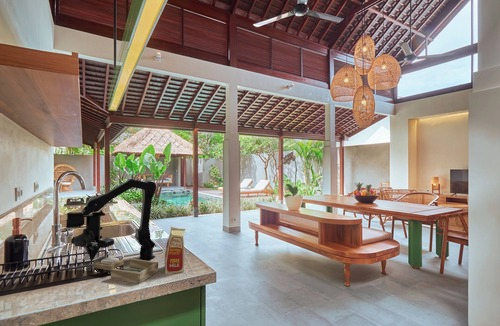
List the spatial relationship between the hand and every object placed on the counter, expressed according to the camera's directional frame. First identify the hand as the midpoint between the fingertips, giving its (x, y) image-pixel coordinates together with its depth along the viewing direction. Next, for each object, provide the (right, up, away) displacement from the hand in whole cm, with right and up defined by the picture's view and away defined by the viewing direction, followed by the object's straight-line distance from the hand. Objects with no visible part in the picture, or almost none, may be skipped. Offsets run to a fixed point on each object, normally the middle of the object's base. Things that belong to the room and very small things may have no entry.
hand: (92, 259), depth 120 cm
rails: (+12, -4, -3) cm, 13 cm away
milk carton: (+37, -5, +2) cm, 38 cm away
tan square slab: (+9, -4, -2) cm, 10 cm away
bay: (+22, -5, -5) cm, 23 cm away
